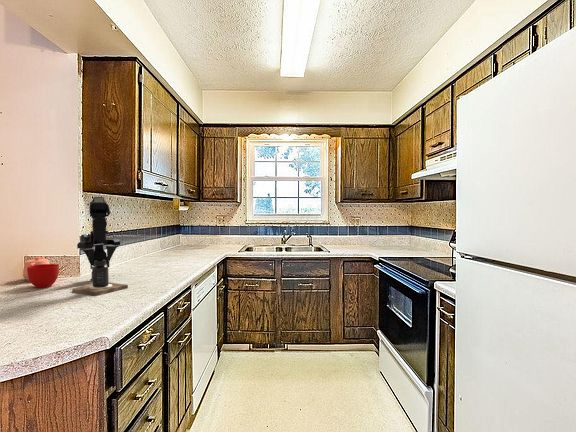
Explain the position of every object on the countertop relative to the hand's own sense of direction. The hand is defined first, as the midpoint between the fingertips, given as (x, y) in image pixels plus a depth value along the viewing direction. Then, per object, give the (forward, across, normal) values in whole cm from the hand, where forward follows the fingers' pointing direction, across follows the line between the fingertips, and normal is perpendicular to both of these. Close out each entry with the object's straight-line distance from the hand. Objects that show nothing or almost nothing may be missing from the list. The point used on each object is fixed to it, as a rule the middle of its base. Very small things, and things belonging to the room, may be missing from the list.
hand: (99, 262), depth 175 cm
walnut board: (+13, 0, 0) cm, 13 cm away
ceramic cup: (+13, +7, -33) cm, 36 cm away
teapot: (+13, -2, -52) cm, 53 cm away
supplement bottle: (+11, 0, 0) cm, 11 cm away
